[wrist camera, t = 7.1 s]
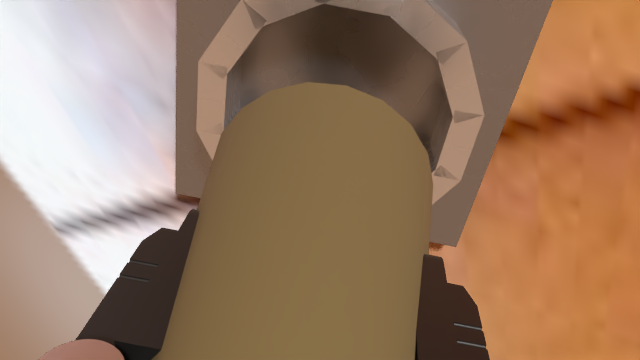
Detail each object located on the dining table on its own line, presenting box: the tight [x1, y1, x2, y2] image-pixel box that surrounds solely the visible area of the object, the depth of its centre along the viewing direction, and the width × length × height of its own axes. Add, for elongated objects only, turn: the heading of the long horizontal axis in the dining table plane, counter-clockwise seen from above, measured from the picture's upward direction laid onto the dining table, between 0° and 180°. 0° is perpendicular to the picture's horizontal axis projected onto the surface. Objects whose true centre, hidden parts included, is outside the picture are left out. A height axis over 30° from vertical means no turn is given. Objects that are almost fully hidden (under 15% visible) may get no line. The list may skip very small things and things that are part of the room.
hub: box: [176, 0, 553, 247], centre depth 19 cm, size 13×12×3 cm
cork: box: [151, 82, 433, 360], centre depth 9 cm, size 6×6×11 cm
